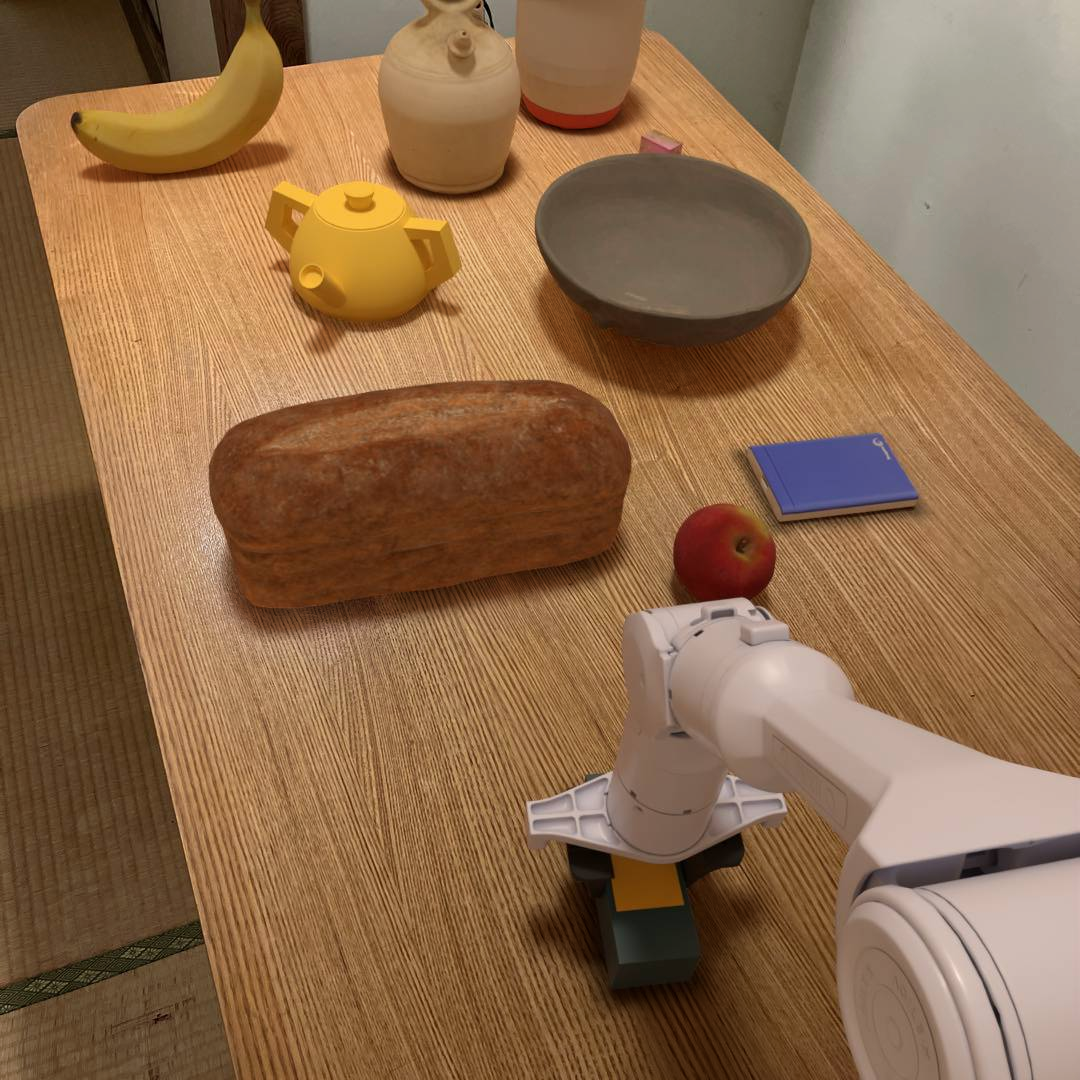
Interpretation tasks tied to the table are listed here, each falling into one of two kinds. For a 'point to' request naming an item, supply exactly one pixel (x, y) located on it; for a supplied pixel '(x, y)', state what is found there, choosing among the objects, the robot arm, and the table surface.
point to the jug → (449, 99)
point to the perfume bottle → (659, 143)
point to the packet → (647, 923)
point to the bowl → (672, 247)
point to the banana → (195, 114)
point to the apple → (724, 553)
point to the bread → (417, 489)
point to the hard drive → (831, 477)
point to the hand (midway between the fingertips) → (635, 878)
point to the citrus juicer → (577, 58)
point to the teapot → (360, 250)
